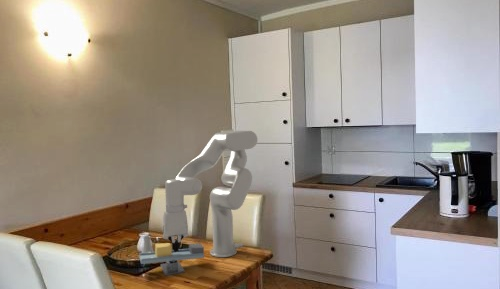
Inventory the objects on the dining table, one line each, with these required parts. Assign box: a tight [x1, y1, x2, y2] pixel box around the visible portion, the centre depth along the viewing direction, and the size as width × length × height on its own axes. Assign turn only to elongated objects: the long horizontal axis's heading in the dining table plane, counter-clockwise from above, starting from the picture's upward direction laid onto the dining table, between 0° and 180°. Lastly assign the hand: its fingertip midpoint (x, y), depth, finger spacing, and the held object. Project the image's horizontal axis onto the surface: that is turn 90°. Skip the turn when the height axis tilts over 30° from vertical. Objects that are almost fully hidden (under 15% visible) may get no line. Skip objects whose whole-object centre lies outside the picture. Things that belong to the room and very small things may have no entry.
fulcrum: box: [160, 260, 185, 276], centre depth 165 cm, size 8×12×4 cm, turn 21°
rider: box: [154, 242, 172, 257], centre depth 163 cm, size 6×5×4 cm
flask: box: [141, 235, 155, 253], centre depth 179 cm, size 7×7×10 cm
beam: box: [138, 242, 205, 265], centre depth 165 cm, size 26×9×5 cm, turn 111°
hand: (176, 251), depth 165 cm, fingers closed
